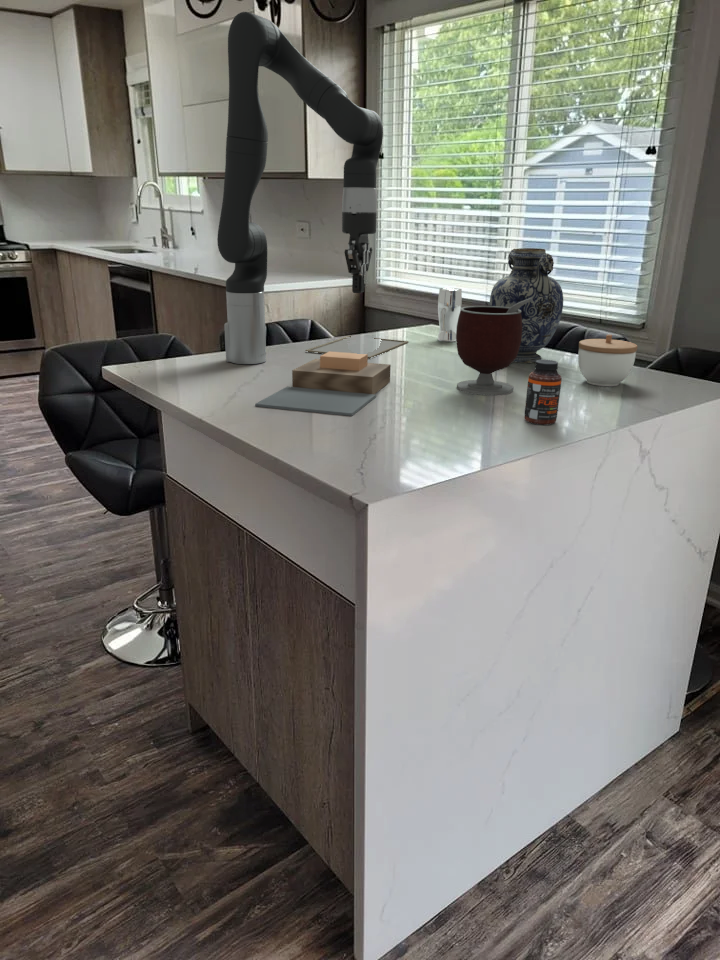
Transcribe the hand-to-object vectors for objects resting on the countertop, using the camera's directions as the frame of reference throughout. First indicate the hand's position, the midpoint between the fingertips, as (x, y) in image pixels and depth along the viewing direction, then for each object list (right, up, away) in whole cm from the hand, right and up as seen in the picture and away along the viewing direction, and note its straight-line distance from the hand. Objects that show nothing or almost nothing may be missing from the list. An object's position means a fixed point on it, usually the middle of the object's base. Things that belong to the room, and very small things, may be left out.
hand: (358, 292), depth 164 cm
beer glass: (+27, 0, +56) cm, 62 cm away
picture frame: (0, -5, +42) cm, 42 cm away
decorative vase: (+43, -10, +29) cm, 53 cm away
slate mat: (-8, -26, -17) cm, 32 cm away
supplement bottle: (+34, -31, -28) cm, 54 cm away
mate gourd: (+29, -22, -4) cm, 37 cm away
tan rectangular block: (-3, -16, -4) cm, 17 cm away
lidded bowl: (+56, -20, +4) cm, 60 cm away
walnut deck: (-3, -21, -3) cm, 22 cm away
